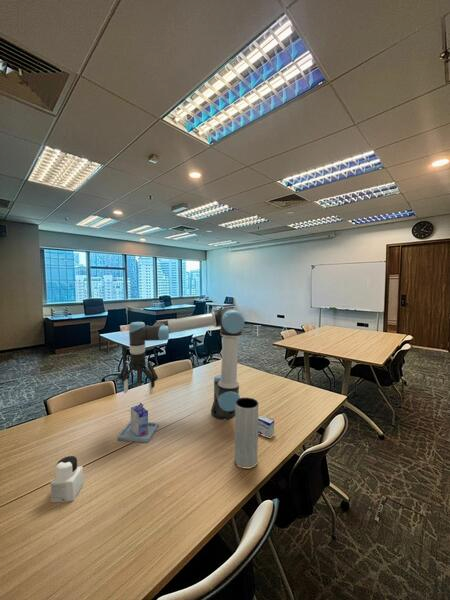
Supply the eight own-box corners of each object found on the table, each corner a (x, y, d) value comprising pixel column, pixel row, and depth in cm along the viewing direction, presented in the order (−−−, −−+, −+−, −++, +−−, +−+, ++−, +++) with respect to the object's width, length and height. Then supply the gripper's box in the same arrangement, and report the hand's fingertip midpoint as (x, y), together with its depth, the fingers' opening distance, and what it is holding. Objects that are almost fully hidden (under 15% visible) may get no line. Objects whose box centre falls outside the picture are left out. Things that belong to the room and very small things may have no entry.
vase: (251, 473, 105) (252, 410, 103) (230, 463, 111) (231, 404, 109) (260, 459, 114) (262, 400, 112) (241, 451, 119) (242, 395, 117)
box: (256, 433, 133) (257, 418, 132) (261, 429, 136) (261, 414, 136) (270, 439, 128) (270, 423, 127) (274, 435, 131) (274, 419, 131)
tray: (158, 426, 138) (158, 422, 138) (148, 442, 124) (148, 438, 124) (130, 424, 140) (130, 421, 140) (117, 440, 126) (117, 436, 126)
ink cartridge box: (148, 433, 130) (148, 406, 129) (138, 438, 127) (138, 410, 126) (140, 425, 138) (139, 399, 137) (130, 429, 134) (129, 403, 133)
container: (62, 485, 98) (61, 453, 97) (83, 484, 99) (82, 452, 98) (50, 503, 90) (49, 468, 89) (73, 501, 91) (72, 467, 90)
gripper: (163, 351, 132) (164, 390, 133) (118, 349, 134) (119, 388, 136) (158, 355, 124) (159, 397, 126) (110, 353, 127) (111, 394, 128)
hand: (138, 392), depth 131 cm, fingers open, 13 cm apart
